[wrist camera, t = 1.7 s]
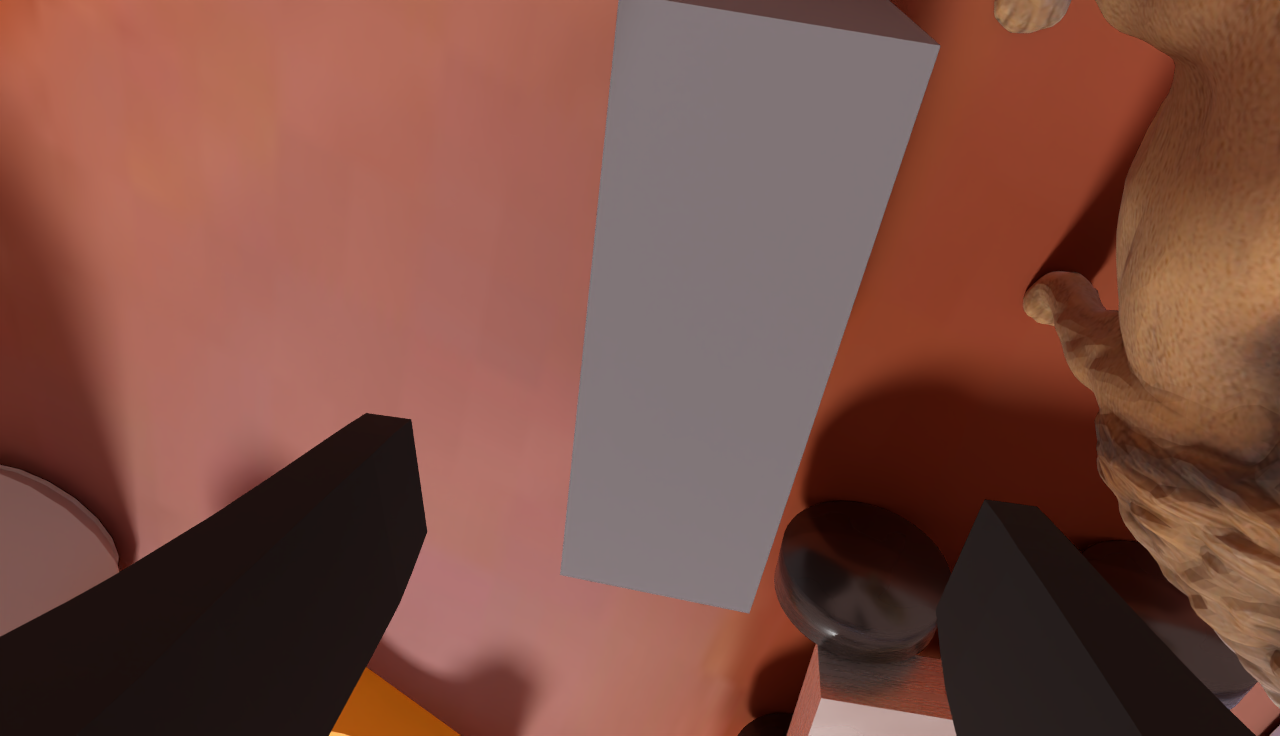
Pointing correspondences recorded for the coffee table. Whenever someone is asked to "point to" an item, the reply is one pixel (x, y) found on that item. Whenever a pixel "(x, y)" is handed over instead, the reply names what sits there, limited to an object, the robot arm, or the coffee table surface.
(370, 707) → the pipe clamp
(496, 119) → the coffee table surface
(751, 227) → the block
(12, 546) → the can
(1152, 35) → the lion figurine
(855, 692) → the trolley
